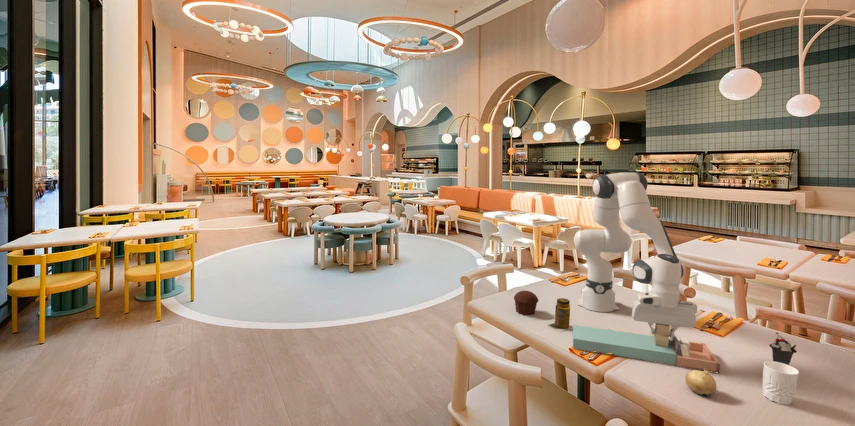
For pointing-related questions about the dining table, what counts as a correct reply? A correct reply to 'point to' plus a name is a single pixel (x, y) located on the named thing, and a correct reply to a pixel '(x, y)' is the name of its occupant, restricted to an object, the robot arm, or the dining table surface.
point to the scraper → (665, 337)
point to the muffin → (525, 302)
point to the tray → (698, 358)
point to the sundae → (782, 350)
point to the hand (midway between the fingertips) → (661, 334)
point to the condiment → (562, 315)
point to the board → (621, 344)
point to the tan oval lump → (701, 382)
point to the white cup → (779, 381)
